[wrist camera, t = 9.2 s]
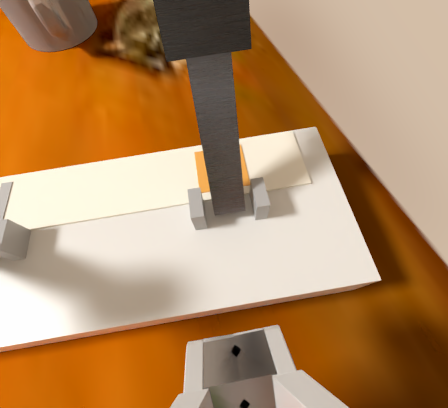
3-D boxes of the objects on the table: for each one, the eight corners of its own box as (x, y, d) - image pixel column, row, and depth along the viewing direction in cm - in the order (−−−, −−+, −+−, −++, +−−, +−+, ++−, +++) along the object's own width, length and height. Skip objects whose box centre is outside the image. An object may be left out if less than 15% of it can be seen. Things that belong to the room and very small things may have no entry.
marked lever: (260, 214, 16) (247, -28, 9) (202, 223, 16) (150, -13, 9) (251, 192, 18) (236, -16, 11) (201, 200, 18) (157, -5, 11)
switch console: (353, 289, 18) (401, 273, 13) (-66, 363, 18) (-200, 378, 12) (304, 157, 24) (323, 106, 18) (-19, 210, 23) (-98, 173, 18)
